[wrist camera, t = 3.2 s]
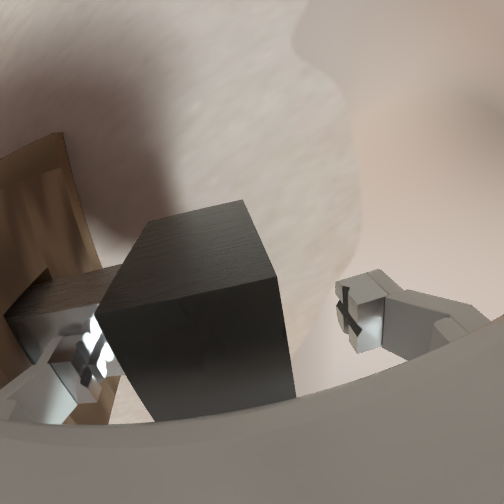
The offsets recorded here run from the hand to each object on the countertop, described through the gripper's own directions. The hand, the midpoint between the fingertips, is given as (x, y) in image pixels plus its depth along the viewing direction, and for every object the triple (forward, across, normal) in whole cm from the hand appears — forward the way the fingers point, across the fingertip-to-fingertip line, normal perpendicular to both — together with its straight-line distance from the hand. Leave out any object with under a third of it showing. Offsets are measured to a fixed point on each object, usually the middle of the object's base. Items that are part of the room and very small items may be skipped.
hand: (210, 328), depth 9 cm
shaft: (+5, +8, 0) cm, 9 cm away
